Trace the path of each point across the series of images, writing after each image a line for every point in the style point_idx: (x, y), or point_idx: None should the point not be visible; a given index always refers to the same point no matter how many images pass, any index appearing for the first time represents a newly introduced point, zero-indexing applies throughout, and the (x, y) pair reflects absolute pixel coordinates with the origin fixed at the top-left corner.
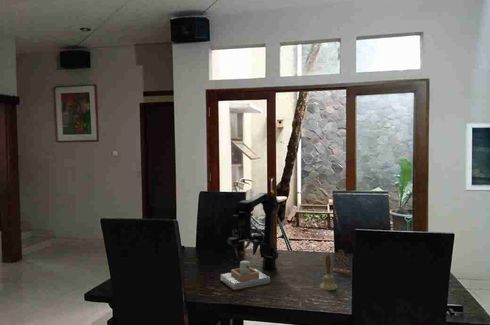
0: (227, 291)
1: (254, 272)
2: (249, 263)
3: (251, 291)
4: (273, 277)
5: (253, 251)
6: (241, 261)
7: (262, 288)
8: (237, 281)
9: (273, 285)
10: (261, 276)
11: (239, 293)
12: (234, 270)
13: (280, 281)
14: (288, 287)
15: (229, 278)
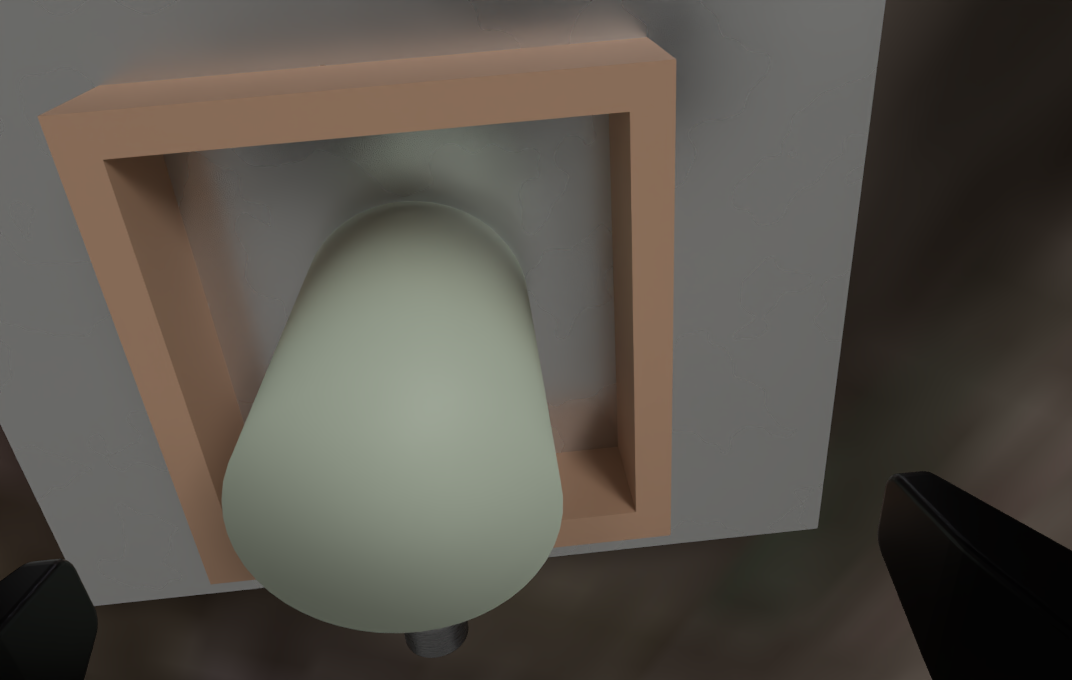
0: (14, 551)
1: (574, 520)
2: (509, 578)
3: (375, 639)
4: (1017, 242)
5: (961, 609)
6: (297, 412)
7: (564, 597)
8: (174, 536)
9: (766, 552)
10: (708, 452)
11: (189, 651)
12: (155, 149)
13: (965, 452)
14: (887, 657)
15: (25, 342)
